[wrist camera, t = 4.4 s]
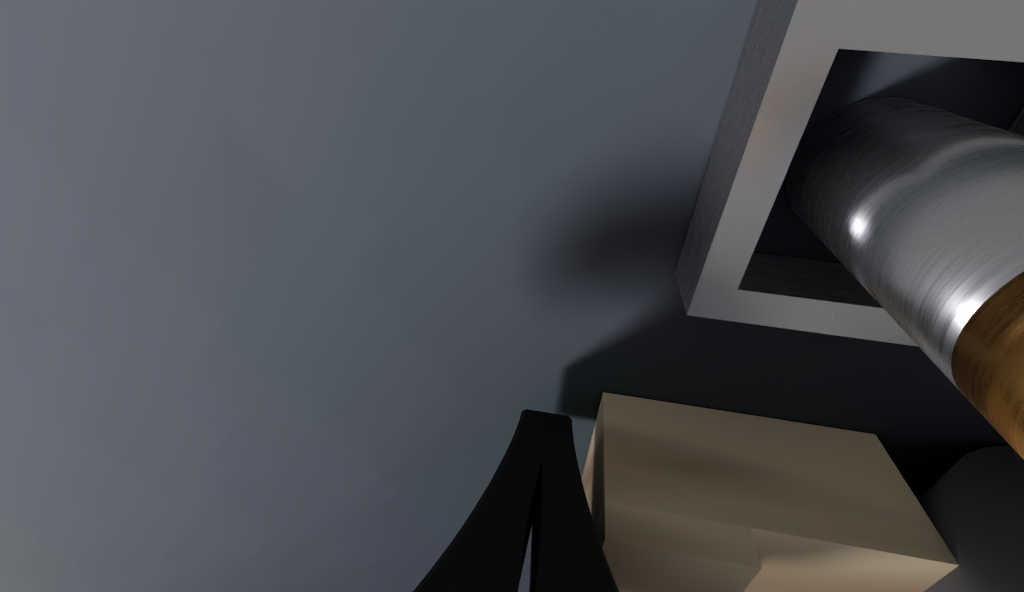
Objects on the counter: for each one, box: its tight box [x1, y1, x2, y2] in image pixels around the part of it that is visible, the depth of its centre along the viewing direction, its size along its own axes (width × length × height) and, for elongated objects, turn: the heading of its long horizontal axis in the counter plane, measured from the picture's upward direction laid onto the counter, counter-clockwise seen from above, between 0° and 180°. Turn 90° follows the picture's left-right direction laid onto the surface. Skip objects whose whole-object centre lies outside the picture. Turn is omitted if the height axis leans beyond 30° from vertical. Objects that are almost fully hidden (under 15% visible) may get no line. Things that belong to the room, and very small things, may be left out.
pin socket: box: [675, 0, 1024, 347], centre depth 7 cm, size 5×5×2 cm
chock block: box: [581, 392, 959, 592], centre depth 11 cm, size 5×7×4 cm
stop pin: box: [785, 97, 1024, 460], centre depth 5 cm, size 2×2×6 cm
